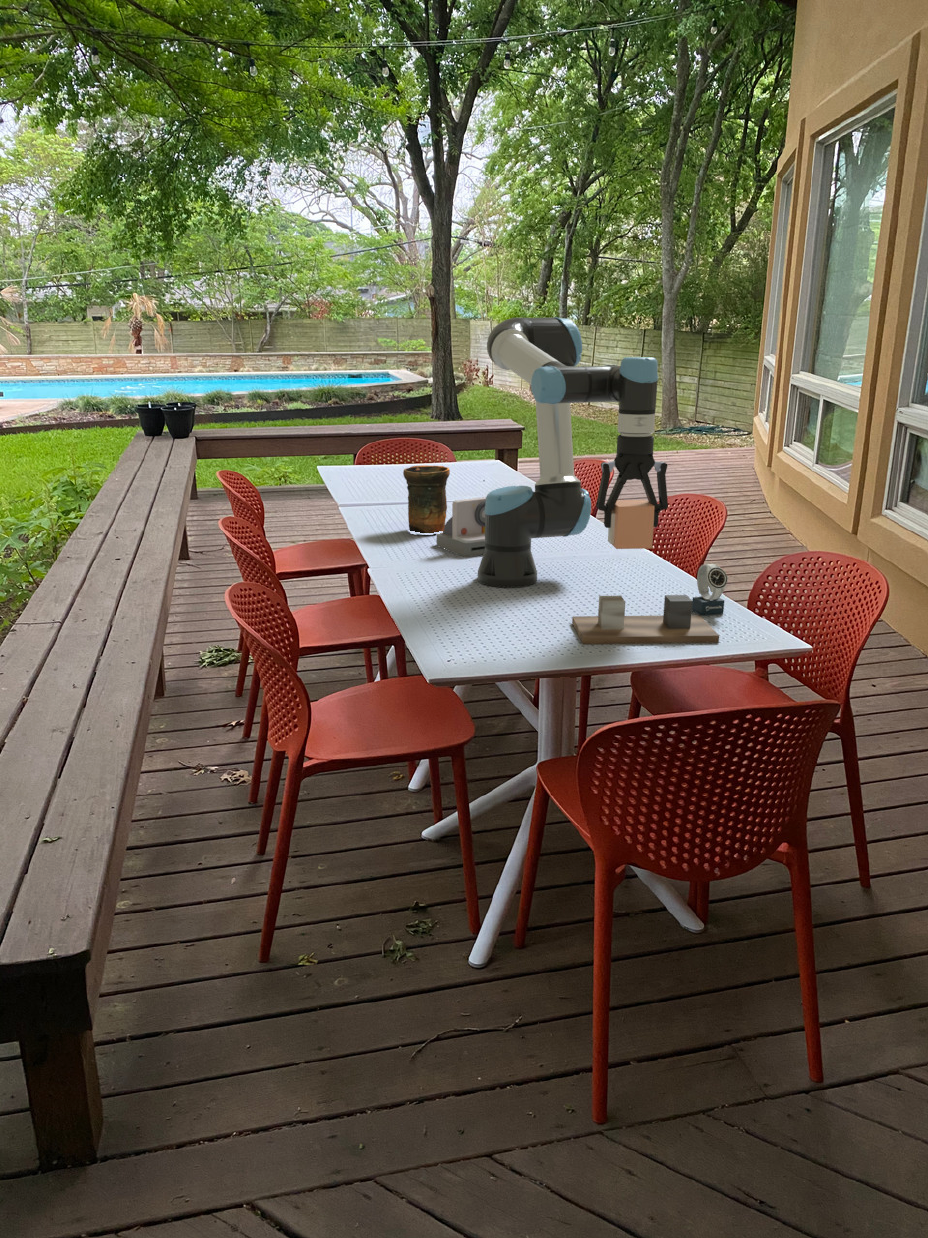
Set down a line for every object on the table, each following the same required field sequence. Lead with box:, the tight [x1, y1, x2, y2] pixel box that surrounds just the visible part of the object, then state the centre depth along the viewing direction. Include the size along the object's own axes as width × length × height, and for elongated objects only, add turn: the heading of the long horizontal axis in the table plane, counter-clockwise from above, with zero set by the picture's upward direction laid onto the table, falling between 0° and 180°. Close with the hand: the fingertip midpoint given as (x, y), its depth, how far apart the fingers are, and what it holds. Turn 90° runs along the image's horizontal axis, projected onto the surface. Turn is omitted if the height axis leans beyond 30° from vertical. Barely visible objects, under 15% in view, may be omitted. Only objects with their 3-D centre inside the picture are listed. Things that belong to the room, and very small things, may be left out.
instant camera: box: [436, 496, 487, 558], centre depth 268 cm, size 21×21×15 cm
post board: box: [571, 594, 720, 645], centre depth 194 cm, size 14×28×8 cm, turn 93°
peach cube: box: [611, 499, 655, 550], centre depth 197 cm, size 8×8×9 cm
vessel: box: [402, 464, 451, 533], centre depth 288 cm, size 14×14×20 cm
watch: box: [691, 563, 729, 617], centre depth 208 cm, size 6×8×11 cm
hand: (630, 542), depth 198 cm, fingers closed on peach cube, 8 cm apart
